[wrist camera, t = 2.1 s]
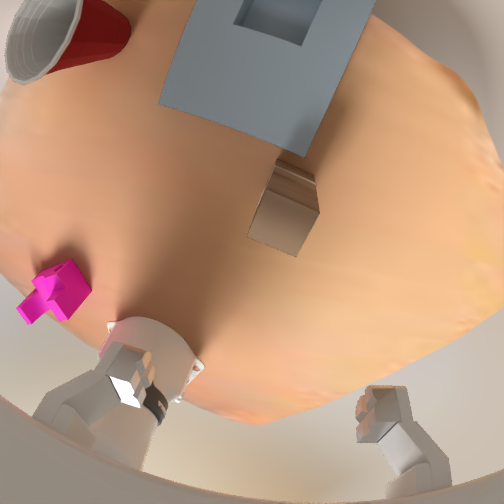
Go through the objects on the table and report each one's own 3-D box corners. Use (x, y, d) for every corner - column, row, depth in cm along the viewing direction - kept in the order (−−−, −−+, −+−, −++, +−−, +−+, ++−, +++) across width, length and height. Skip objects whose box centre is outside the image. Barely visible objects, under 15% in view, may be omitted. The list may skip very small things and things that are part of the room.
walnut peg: (297, 209, 31) (296, 258, 22) (261, 193, 31) (245, 237, 22) (314, 174, 29) (321, 212, 20) (276, 158, 28) (266, 188, 20)
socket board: (303, 149, 27) (304, 157, 24) (174, 101, 27) (158, 104, 23) (371, 0, 18) (381, -12, 15) (236, -44, 17) (228, -59, 14)
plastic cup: (126, -22, 19) (58, -48, 9) (167, 34, 23) (98, 13, 12) (64, 39, 23) (-9, 39, 13) (97, 96, 27) (20, 110, 16)
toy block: (73, 258, 40) (44, 285, 34) (92, 290, 43) (68, 319, 36) (32, 274, 44) (8, 297, 38) (48, 300, 47) (27, 324, 41)
